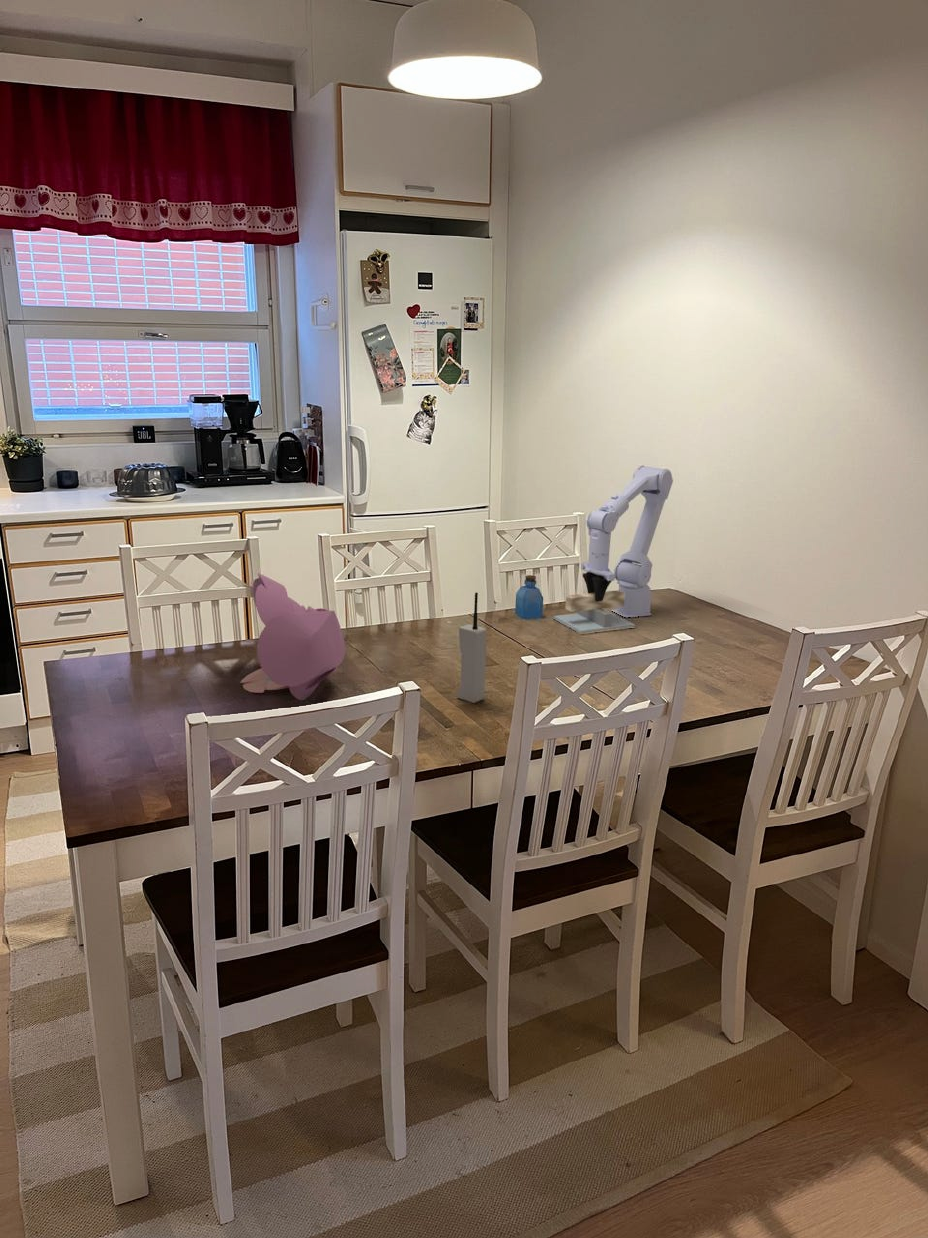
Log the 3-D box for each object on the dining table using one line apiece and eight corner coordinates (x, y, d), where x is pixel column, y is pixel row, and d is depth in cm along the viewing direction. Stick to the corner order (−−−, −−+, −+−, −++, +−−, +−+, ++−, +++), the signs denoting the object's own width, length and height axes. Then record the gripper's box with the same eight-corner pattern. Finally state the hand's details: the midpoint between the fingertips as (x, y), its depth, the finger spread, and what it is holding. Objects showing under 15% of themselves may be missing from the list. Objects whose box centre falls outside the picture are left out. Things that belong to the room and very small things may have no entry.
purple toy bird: (226, 687, 223) (193, 576, 214) (314, 654, 234) (287, 547, 225) (278, 724, 194) (242, 598, 185) (376, 685, 205) (346, 564, 196)
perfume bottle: (515, 613, 273) (517, 574, 270) (534, 612, 275) (536, 573, 272) (522, 619, 268) (524, 579, 264) (542, 618, 269) (544, 578, 266)
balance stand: (605, 614, 276) (606, 598, 274) (634, 628, 263) (636, 611, 261) (553, 619, 268) (554, 603, 267) (580, 634, 255) (582, 617, 254)
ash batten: (618, 603, 269) (619, 590, 268) (624, 606, 266) (625, 592, 265) (565, 608, 262) (566, 595, 260) (570, 611, 259) (571, 598, 258)
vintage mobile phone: (467, 693, 210) (470, 588, 203) (484, 699, 207) (488, 592, 200) (456, 698, 208) (460, 591, 200) (473, 703, 205) (477, 595, 197)
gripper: (573, 548, 264) (570, 594, 268) (601, 559, 251) (597, 607, 255) (594, 546, 267) (590, 592, 271) (622, 557, 254) (618, 605, 258)
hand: (595, 599), depth 263 cm, fingers closed on ash batten, 3 cm apart
